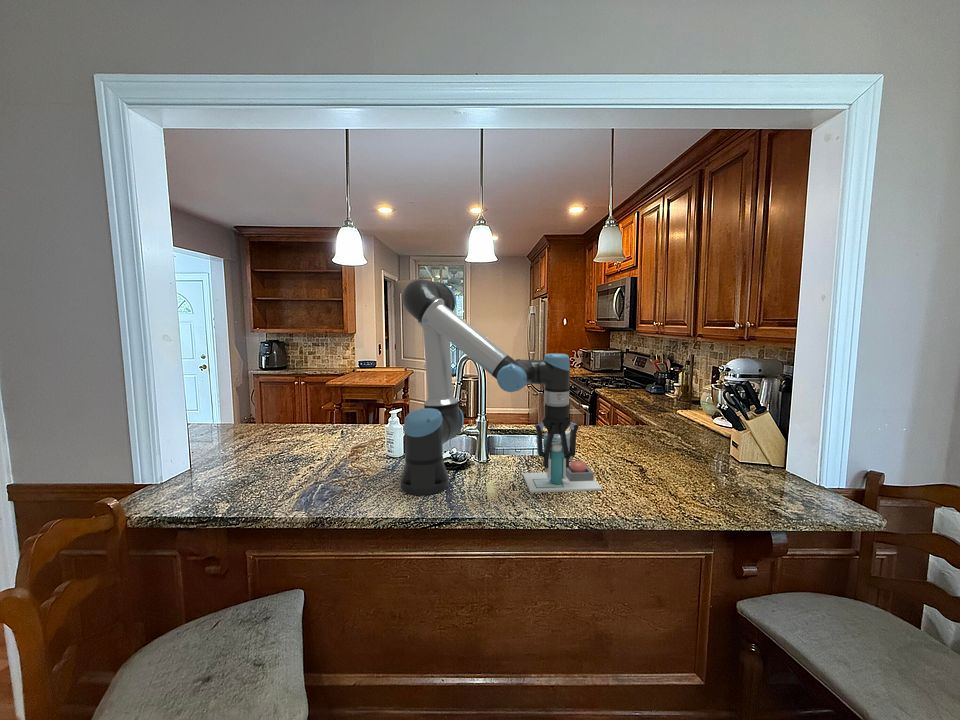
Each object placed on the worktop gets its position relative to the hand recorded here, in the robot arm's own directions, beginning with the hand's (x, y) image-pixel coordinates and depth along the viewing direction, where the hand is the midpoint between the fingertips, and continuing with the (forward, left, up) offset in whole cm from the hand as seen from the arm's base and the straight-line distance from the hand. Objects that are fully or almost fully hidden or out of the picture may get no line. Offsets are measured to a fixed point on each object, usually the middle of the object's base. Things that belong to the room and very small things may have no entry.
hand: (556, 477), depth 124 cm
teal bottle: (0, 0, -1) cm, 1 cm away
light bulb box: (+6, +21, -3) cm, 22 cm away
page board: (+2, +2, -2) cm, 4 cm away
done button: (+8, +5, 0) cm, 10 cm away
